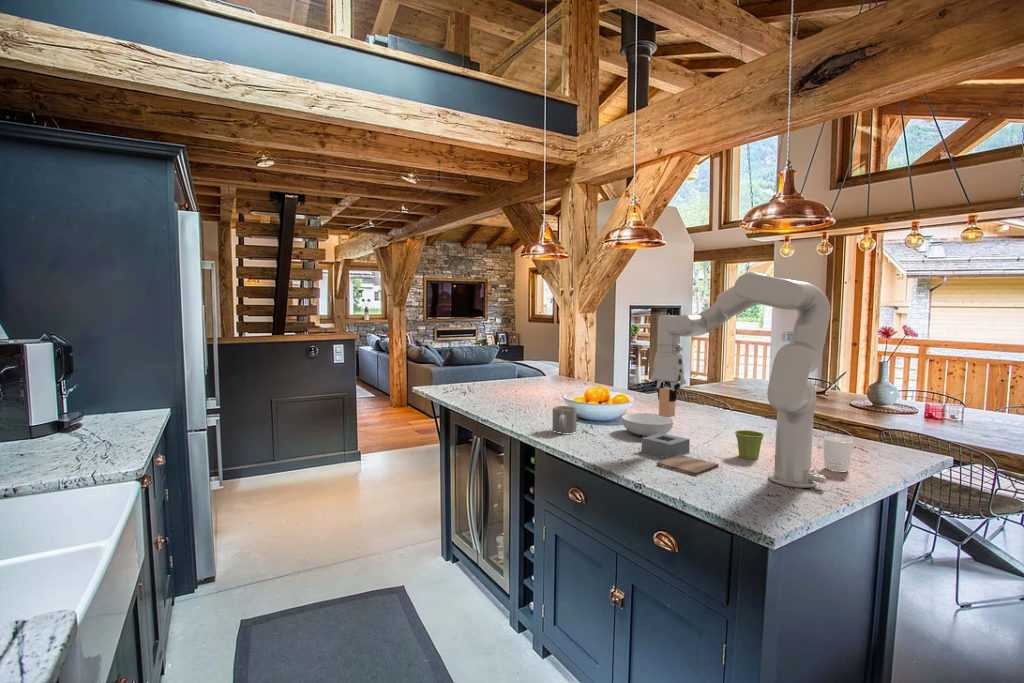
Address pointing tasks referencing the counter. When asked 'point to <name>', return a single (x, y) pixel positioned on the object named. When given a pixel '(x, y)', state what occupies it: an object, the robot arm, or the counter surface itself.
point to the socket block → (665, 445)
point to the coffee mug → (564, 419)
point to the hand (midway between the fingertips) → (667, 399)
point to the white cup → (837, 453)
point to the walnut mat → (688, 464)
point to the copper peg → (666, 403)
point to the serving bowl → (647, 423)
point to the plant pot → (749, 443)
